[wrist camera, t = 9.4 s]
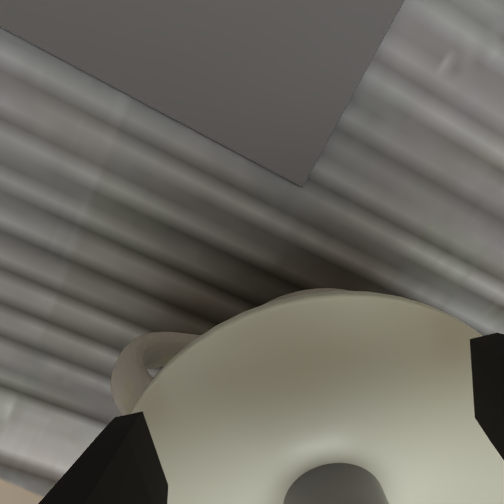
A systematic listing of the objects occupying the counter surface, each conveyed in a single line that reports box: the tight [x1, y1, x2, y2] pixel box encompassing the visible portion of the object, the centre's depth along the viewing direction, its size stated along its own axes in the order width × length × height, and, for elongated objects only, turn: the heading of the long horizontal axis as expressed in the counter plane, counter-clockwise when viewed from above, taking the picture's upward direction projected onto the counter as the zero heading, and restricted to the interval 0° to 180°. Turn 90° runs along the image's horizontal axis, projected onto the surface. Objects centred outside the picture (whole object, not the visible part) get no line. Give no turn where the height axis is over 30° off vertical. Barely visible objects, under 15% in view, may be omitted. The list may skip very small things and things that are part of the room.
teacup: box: [111, 288, 349, 416], centre depth 16 cm, size 14×11×8 cm
